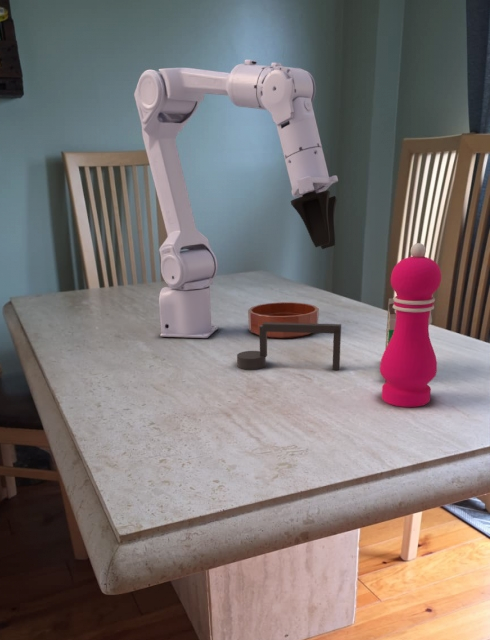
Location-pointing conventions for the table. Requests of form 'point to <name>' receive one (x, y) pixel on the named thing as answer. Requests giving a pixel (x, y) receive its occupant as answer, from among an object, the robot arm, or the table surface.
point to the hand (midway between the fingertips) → (325, 246)
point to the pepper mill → (411, 332)
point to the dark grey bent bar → (258, 358)
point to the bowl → (282, 317)
